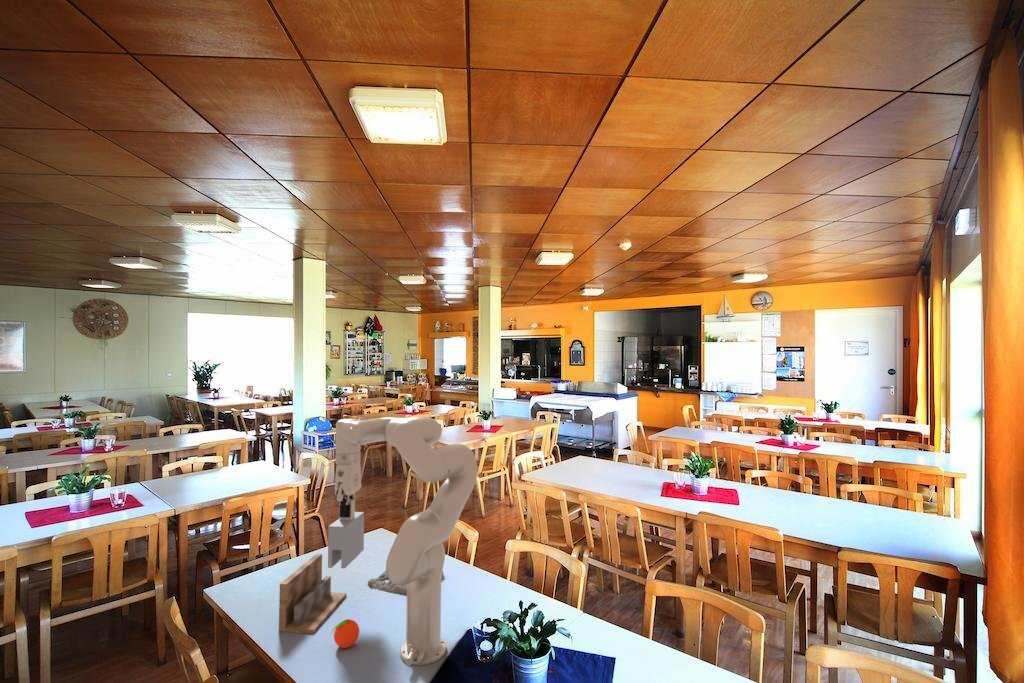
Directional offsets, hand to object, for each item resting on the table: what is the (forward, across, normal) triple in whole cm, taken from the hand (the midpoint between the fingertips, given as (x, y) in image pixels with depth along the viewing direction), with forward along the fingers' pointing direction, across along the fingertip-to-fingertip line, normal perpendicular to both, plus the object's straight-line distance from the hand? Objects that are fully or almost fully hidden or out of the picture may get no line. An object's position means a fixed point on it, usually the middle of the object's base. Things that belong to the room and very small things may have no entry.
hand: (347, 514), depth 150 cm
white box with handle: (+14, 0, 0) cm, 14 cm away
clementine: (+32, -15, -6) cm, 36 cm away
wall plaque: (+33, +25, -12) cm, 43 cm away
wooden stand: (+32, +1, +12) cm, 34 cm away
